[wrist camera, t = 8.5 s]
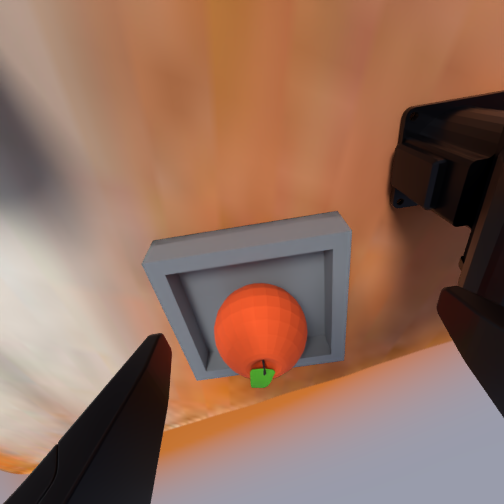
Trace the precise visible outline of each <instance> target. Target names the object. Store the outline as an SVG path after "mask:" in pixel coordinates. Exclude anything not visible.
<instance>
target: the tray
mask: <svg viewBox="0 0 504 504" xmlns="http://www.w3.org/2000/svg"><path fill="white" fill-rule="evenodd" d="M351 238H352V230H351V229H350V227H349V226H348V225H347V223H346V222H345V221H344V219H343V218H342V217H341V215H340V214H339V213H338V211H334V212H328V213H322V214H316V215H309V216H303V217H297V218H291V219H284V220H278V221H272V222H266V223H260V224H253V225H247V226H241V227H235V228H228V229H222V230H216V231H210V232H204V233H197V234H191V235H185V236H179V237H172V238H166V239H160V240H154V241H153V242H152V244H151V246H150V248H149V250H148V252H147V254H146V256H145V258H144V260H143V262H142V266H143V268H144V270H145V272H146V274H147V276H148V278H149V281H150V283H151V285H152V287H153V289H154V291H155V293H156V295H157V297H158V300H159V302H160V304H161V306H162V308H163V310H164V312H165V314H166V316H167V319H168V321H169V323H170V325H171V327H172V329H173V331H174V333H175V335H176V338H177V340H178V342H179V344H180V346H181V348H182V350H183V352H184V354H185V356H186V359H187V361H188V363H189V365H190V367H191V369H192V371H193V373H194V375H195V378H196V380H197V381H198V380H205V379H213V378H220V377H227V376H235V375H240V374H237V373H236V372H234V371H233V370H232V369H231V368H230V367H229V366H228V365H227V364H226V363H225V362H224V361H223V359H222V357H221V356H220V354H219V351H218V349H217V347H216V343H215V335H214V325H215V321H216V317H217V313H218V310H219V309H220V307H221V305H222V304H223V302H224V301H225V300H226V298H227V297H228V296H229V295H230V294H231V293H233V292H234V291H235V290H237V289H239V288H241V287H243V286H246V285H249V284H253V283H266V284H271V285H275V286H277V287H280V288H282V289H284V290H285V291H287V292H288V293H289V294H290V295H292V296H293V297H294V298H295V299H296V301H297V302H298V304H299V305H300V306H301V308H302V311H303V313H304V315H305V319H306V322H307V332H308V333H307V341H306V345H305V349H304V352H303V353H302V355H301V357H300V359H299V360H298V362H297V363H296V365H295V366H294V367H300V366H307V365H315V364H322V363H329V362H337V361H344V353H345V337H346V320H347V304H348V287H349V271H350V254H351Z"/></svg>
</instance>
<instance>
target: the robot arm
mask: <svg viewBox="0 0 504 504" xmlns="http://www.w3.org/2000/svg"><path fill="white" fill-rule="evenodd" d="M413 112H414V113H415V116H414V118H413V119H412V120H410V115H411V114H412V113H413ZM391 185H392V193H391V200H390V202H391V204H392V205H393V206H394V207H395V208H403V207H410V206H416V205H420V206H421V207H422V208H424V209H425V210H432V211H433V212H435V213H436V214H438V215H439V216H440V217H442V218H443V219H445V220H446V221H447V222H449V223H450V224H452V225H453V226H455V227H459V226H466V227H468V228H469V229H471V233H470V236H469V240H468V243H467V246H466V249H465V252H464V256H461V258H460V261H459V267H460V269H461V275H460V278H459V281H458V286H451V287H445V288H443V289H442V290H441V293H440V296H439V300H438V303H437V312H438V314H439V316H440V318H441V320H442V322H443V323H444V325H445V327H446V329H447V331H448V332H449V334H450V336H451V338H452V340H453V342H454V343H455V345H456V347H457V349H458V351H459V352H460V354H461V356H462V357H463V359H464V360H465V362H466V364H467V365H468V367H469V368H470V369H471V371H472V372H473V374H474V375H475V377H476V378H477V380H478V381H479V383H480V384H481V385H482V387H483V388H484V390H485V391H486V392H487V394H488V396H489V397H490V398H491V400H492V401H493V403H494V404H495V405H496V407H497V409H498V410H499V411H500V413H501V414H502V416H503V417H504V90H503V91H498V92H492V93H486V94H481V95H475V96H469V97H463V98H458V99H452V100H446V101H441V102H435V103H429V104H423V105H418V106H412V107H409V108H408V109H407V110H405V112H404V113H403V116H402V122H401V129H400V136H399V143H398V145H397V147H396V148H395V155H394V163H393V170H392V177H391ZM400 198H401V200H400V201H399V202H398V203H397V200H398V199H400ZM171 359H172V351H171V348H170V346H169V344H168V342H167V340H166V338H165V337H164V335H163V334H162V333H158V334H152V335H149V336H148V337H147V338H146V339H145V340H144V342H143V343H142V344H141V345H140V346H139V348H138V349H137V350H136V351H135V352H134V353H133V355H132V356H131V357H130V358H129V359H128V360H127V362H126V363H125V364H124V365H123V366H122V368H121V369H120V370H119V371H118V372H117V373H116V375H115V376H114V377H113V378H112V379H111V380H110V382H109V383H108V384H107V385H106V386H105V387H104V389H103V390H102V391H101V392H100V393H99V395H98V396H97V397H96V398H95V399H94V400H93V402H92V403H91V404H90V405H89V406H88V407H87V409H86V410H85V411H84V412H83V413H82V415H81V416H80V417H79V418H78V419H77V420H76V422H75V423H74V424H73V425H72V426H71V427H70V429H69V430H68V431H67V432H66V433H65V435H64V436H63V437H62V438H61V439H60V440H59V442H58V444H56V445H55V446H54V447H53V448H52V450H51V451H50V452H49V453H48V454H47V456H46V457H45V458H44V459H43V460H42V461H41V462H40V464H39V465H38V466H37V467H36V468H35V469H34V470H33V472H32V473H31V474H30V475H29V476H28V477H27V479H26V480H25V481H24V482H23V483H22V484H21V485H20V486H19V487H18V488H17V490H16V491H15V492H14V493H13V494H12V495H11V496H10V497H9V498H8V499H7V500H6V501H5V502H4V503H3V504H150V503H151V497H152V492H153V486H154V480H155V475H156V469H157V464H158V458H159V452H160V447H161V441H162V436H163V430H164V424H165V419H166V413H167V407H168V400H169V388H170V374H171Z"/></svg>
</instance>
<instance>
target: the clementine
mask: <svg viewBox="0 0 504 504" xmlns="http://www.w3.org/2000/svg"><path fill="white" fill-rule="evenodd" d="M307 333H308V332H307V322H306V319H305V315H304V313H303V311H302V308H301V306H300V305H299V304H298V302H297V301H296V299H295V298H294V297H293V296H292V295H290V294H289V293H288V292H287V291H285V290H284V289H282V288H280V287H277V286H275V285H271V284H266V283H253V284H249V285H246V286H243V287H241V288H239V289H237V290H235V291H234V292H233V293H231V294H230V295H229V296H228V297H227V298H226V300H225V301H224V302H223V304H222V305H221V307H220V309H219V310H218V313H217V317H216V321H215V325H214V335H215V343H216V347H217V349H218V351H219V354H220V356H221V357H222V359H223V361H224V362H225V363H226V364H227V365H228V366H229V367H230V368H231V369H232V370H233V371H234V372H236V373H237V374H240V375H242V376H244V377H246V378H249V379H250V380H251V387H252V388H265V387H267V386H268V385H269V384H270V382H271V381H272V379H274V378H277V377H279V376H281V375H282V374H284V373H286V372H287V371H289V370H290V369H292V368H293V367H294V366H295V365H296V363H297V362H298V360H299V359H300V357H301V355H302V353H303V352H304V349H305V345H306V341H307Z"/></svg>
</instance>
